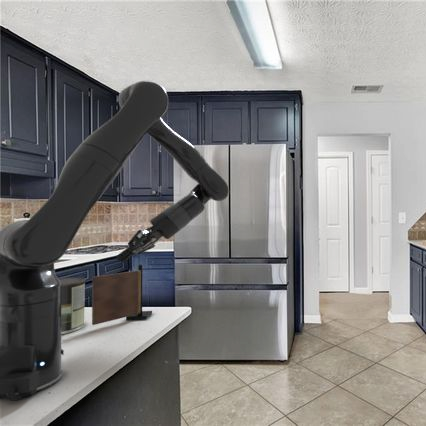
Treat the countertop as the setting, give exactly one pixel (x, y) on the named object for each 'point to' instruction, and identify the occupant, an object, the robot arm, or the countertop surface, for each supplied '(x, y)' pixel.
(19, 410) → the countertop surface
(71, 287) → the coffee can
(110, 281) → the door
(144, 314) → the hinge post
